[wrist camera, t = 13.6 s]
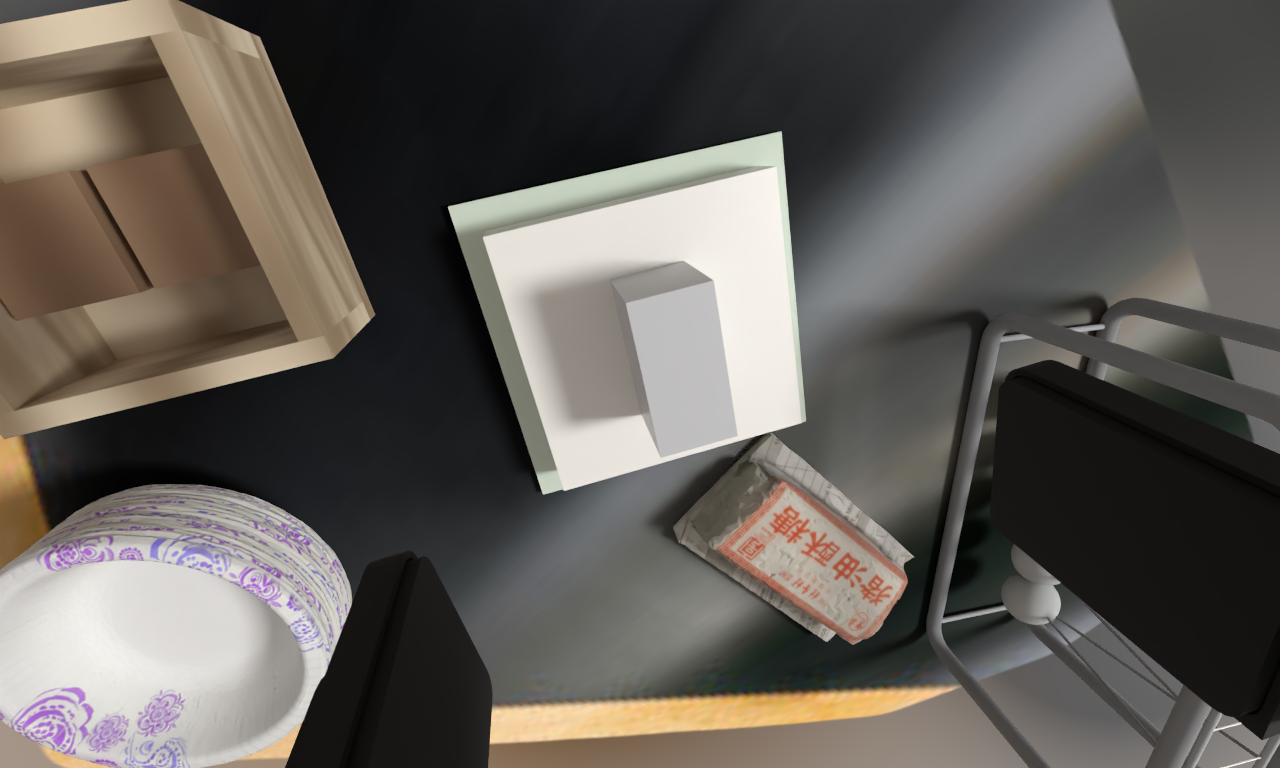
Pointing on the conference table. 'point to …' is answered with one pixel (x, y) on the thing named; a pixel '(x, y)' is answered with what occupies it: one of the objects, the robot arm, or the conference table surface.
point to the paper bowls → (168, 628)
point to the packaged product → (797, 543)
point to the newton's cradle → (1033, 585)
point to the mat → (579, 194)
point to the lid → (653, 322)
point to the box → (155, 216)
